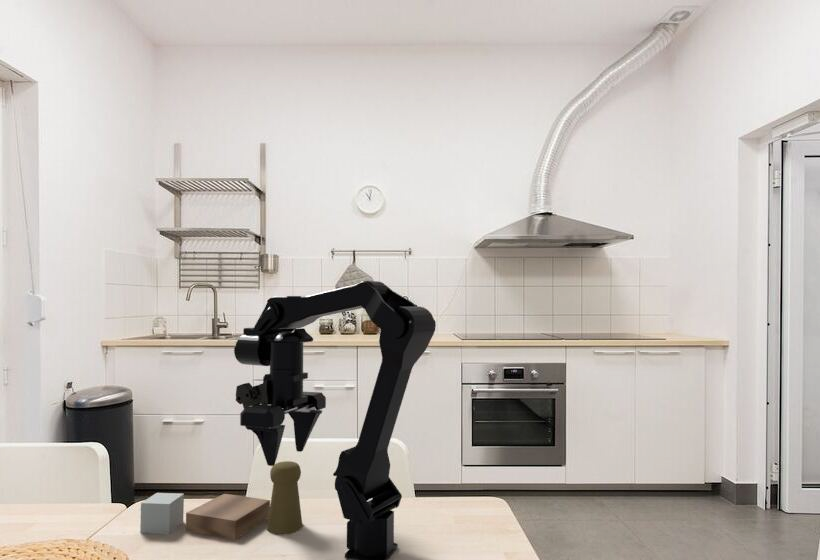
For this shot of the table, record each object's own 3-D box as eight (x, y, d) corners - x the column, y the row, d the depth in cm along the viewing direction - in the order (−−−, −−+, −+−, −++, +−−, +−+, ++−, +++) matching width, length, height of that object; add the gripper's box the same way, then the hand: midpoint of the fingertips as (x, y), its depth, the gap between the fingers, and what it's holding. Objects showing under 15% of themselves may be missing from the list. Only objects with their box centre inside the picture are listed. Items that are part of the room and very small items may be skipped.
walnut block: (269, 516, 99) (270, 500, 99) (235, 539, 90) (235, 520, 90) (223, 509, 103) (224, 493, 103) (185, 530, 93) (186, 512, 93)
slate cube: (183, 522, 97) (183, 493, 97) (168, 534, 92) (169, 504, 92) (156, 521, 97) (156, 492, 98) (140, 533, 92) (141, 503, 93)
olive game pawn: (294, 536, 91) (295, 469, 92) (260, 532, 92) (261, 466, 93) (307, 521, 97) (308, 459, 98) (276, 519, 98) (277, 457, 99)
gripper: (276, 361, 107) (275, 441, 107) (213, 372, 90) (211, 469, 89) (327, 362, 104) (326, 446, 103) (271, 375, 86) (270, 475, 85)
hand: (285, 458), depth 95 cm, fingers open, 9 cm apart
